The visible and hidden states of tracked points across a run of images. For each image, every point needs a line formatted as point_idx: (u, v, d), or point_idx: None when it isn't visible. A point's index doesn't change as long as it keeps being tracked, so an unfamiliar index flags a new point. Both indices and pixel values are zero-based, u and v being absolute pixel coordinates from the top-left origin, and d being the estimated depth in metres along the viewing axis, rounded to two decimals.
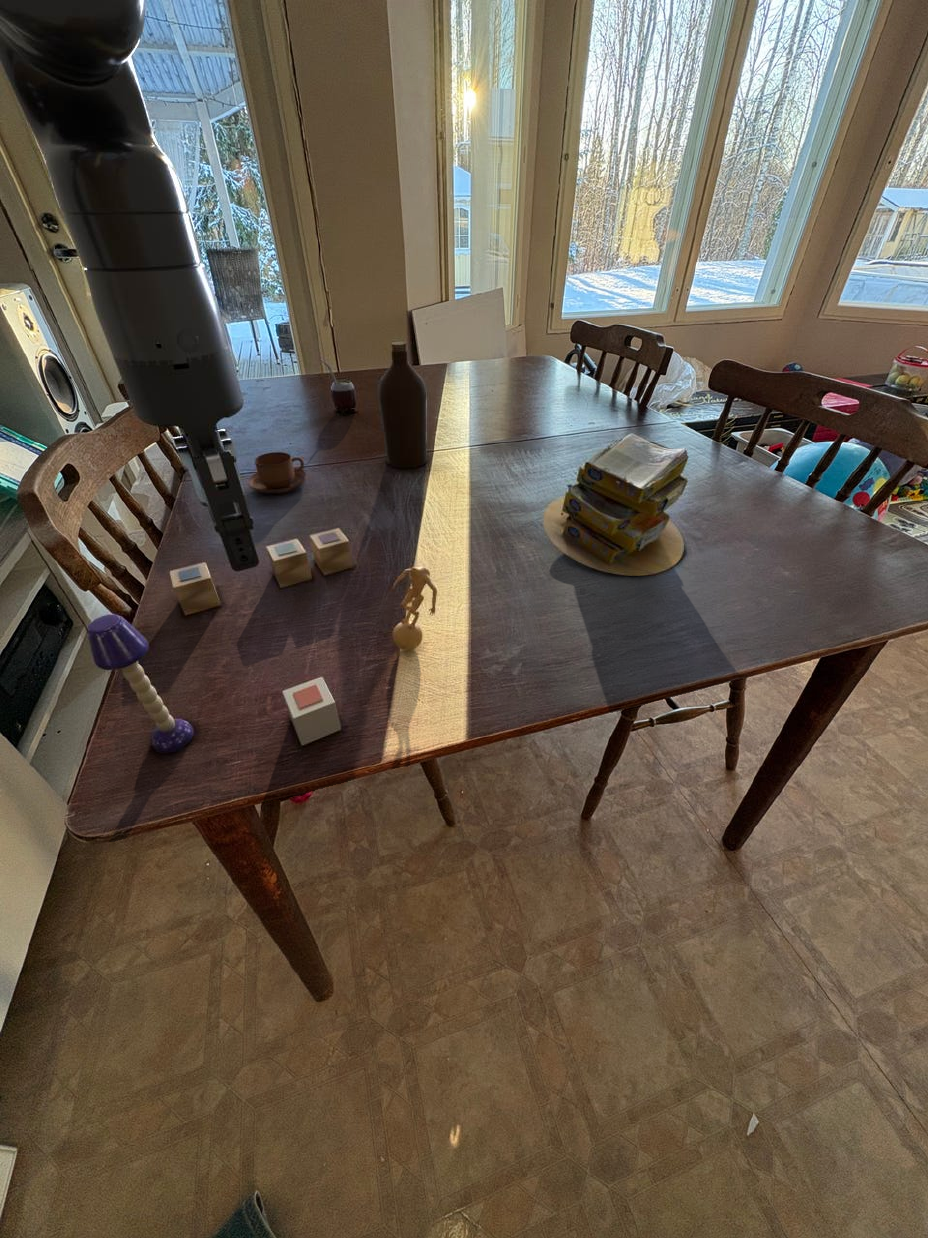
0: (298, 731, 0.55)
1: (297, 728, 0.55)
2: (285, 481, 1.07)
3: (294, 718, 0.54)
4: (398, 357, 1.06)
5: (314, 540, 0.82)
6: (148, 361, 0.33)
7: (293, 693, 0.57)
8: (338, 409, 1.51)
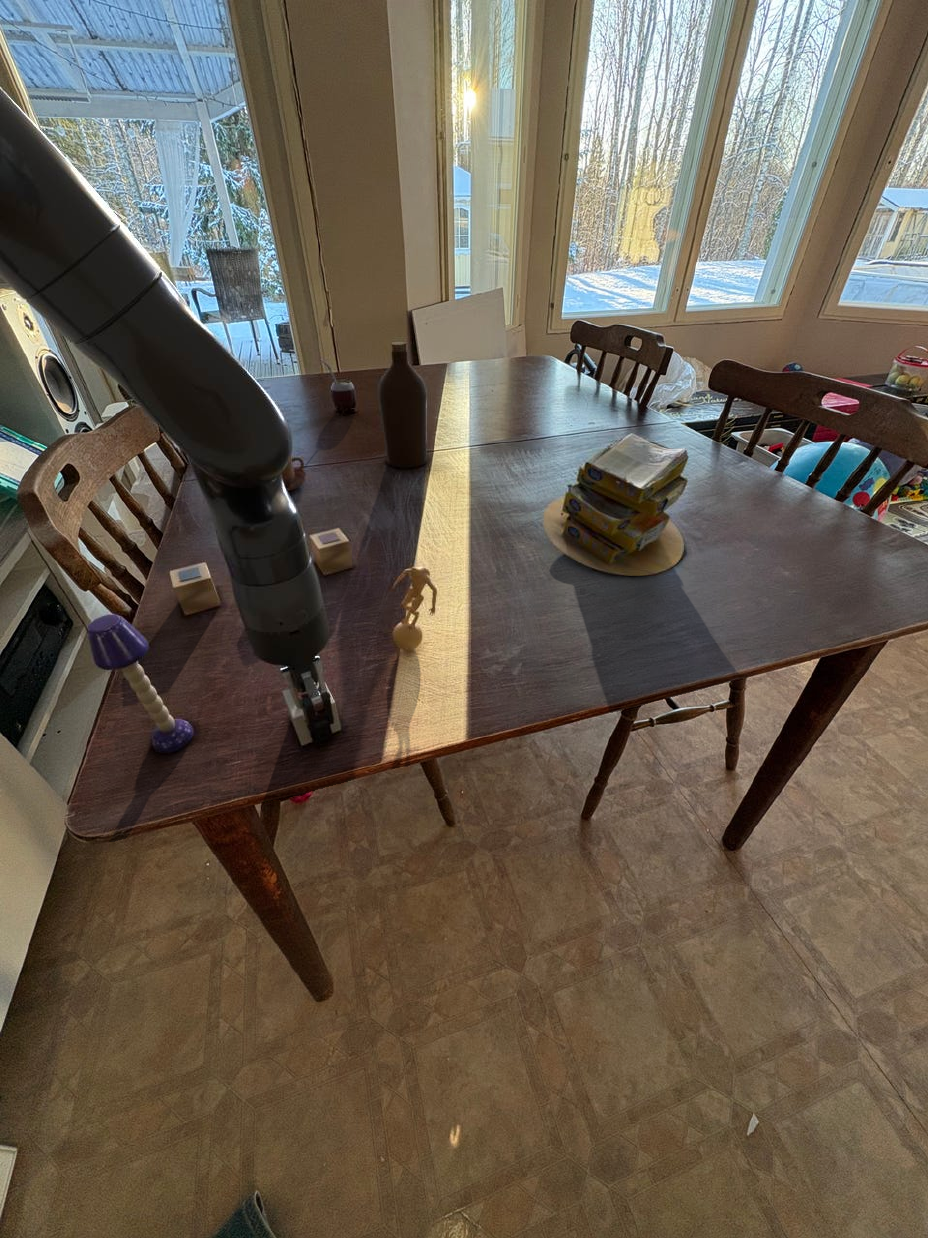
0: (298, 731, 0.55)
1: (297, 728, 0.55)
2: (285, 481, 1.07)
3: (294, 718, 0.54)
4: (398, 357, 1.06)
5: (314, 540, 0.82)
6: (272, 632, 0.45)
7: None
8: (338, 409, 1.51)
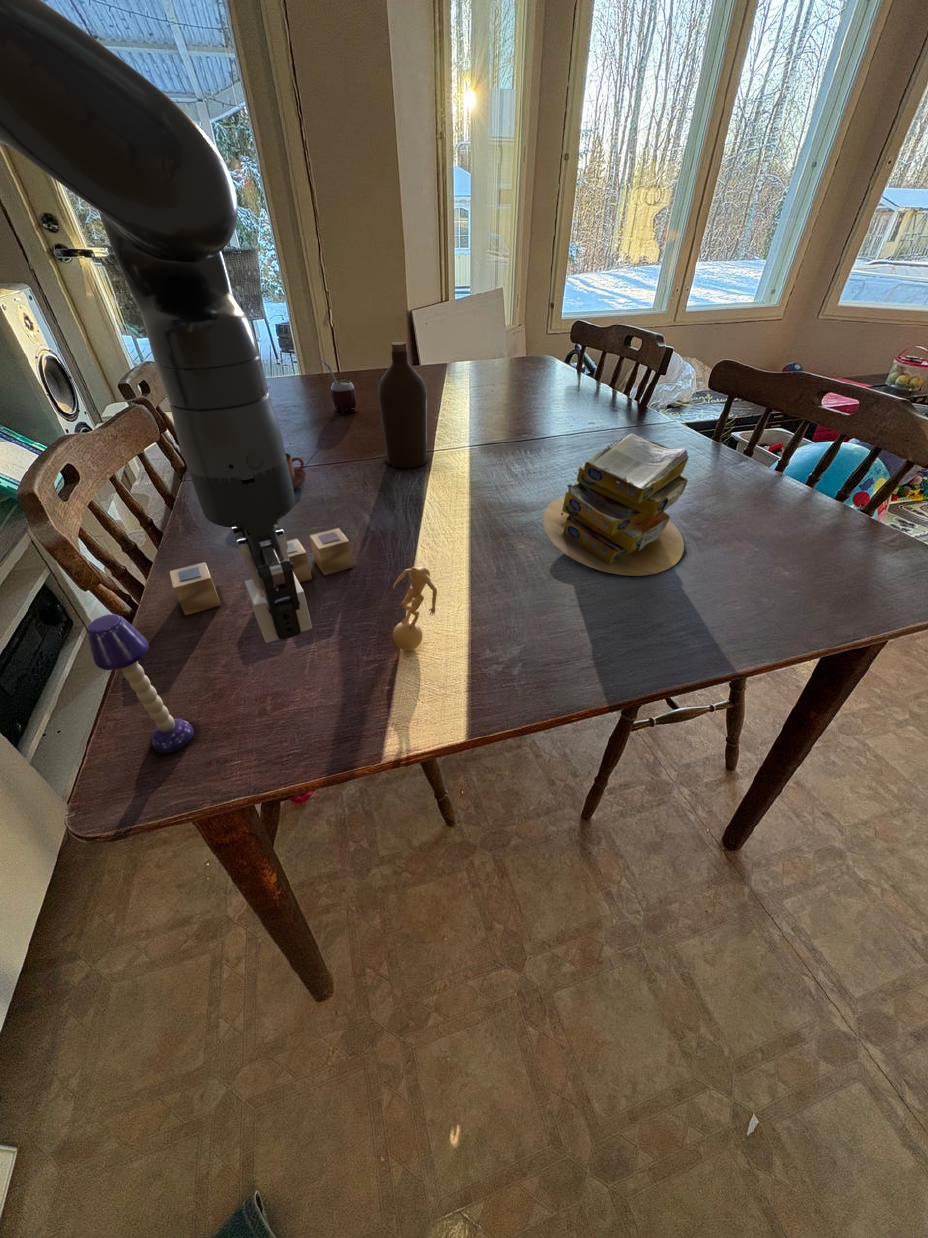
0: (261, 623, 0.48)
1: (259, 619, 0.48)
2: None
3: (255, 605, 0.47)
4: (398, 357, 1.06)
5: (314, 540, 0.82)
6: (221, 478, 0.38)
7: None
8: (338, 409, 1.51)
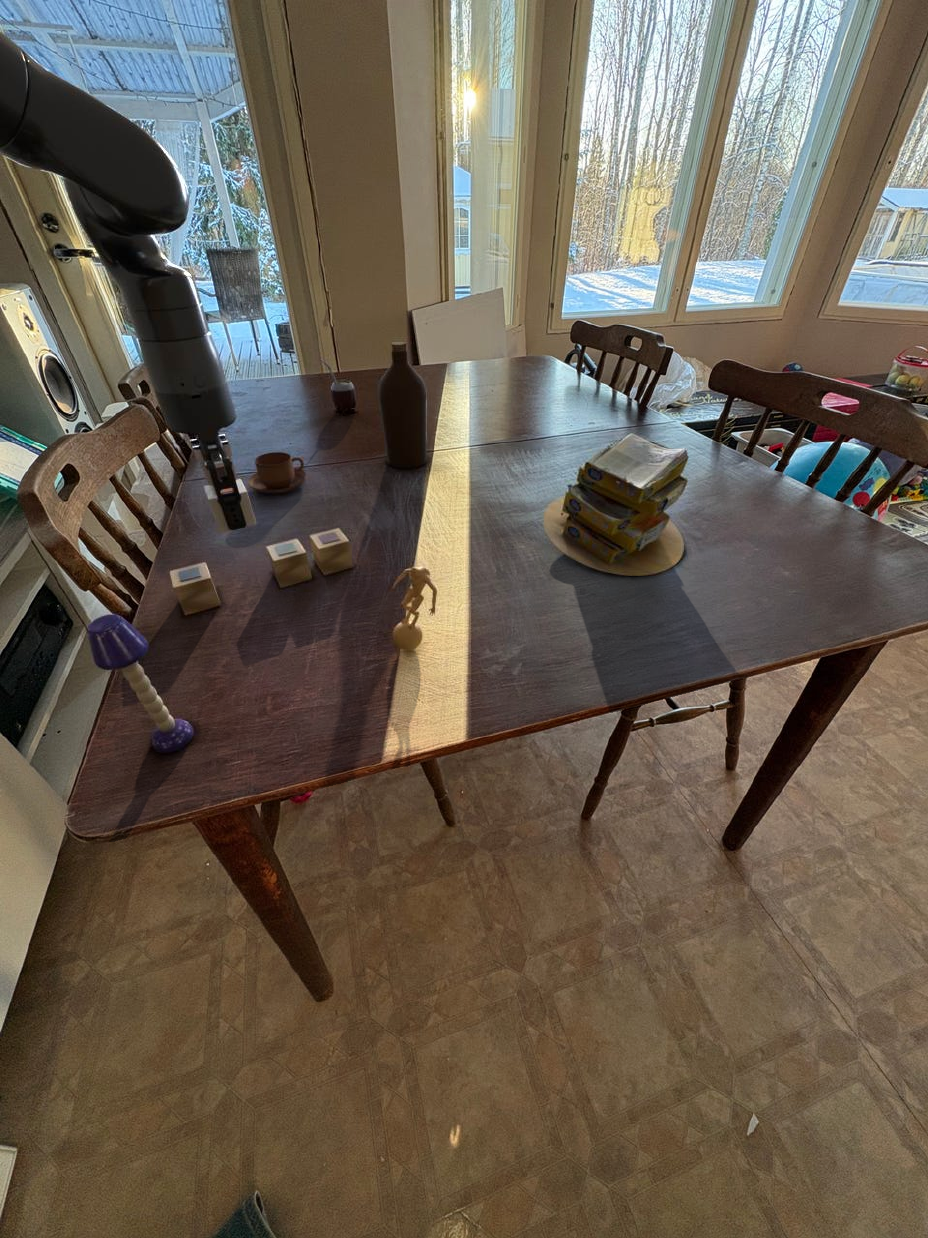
0: (214, 515, 0.64)
1: (213, 511, 0.63)
2: (285, 481, 1.07)
3: (209, 500, 0.62)
4: (398, 357, 1.06)
5: (314, 540, 0.82)
6: (176, 393, 0.54)
7: (213, 487, 0.65)
8: (338, 409, 1.51)
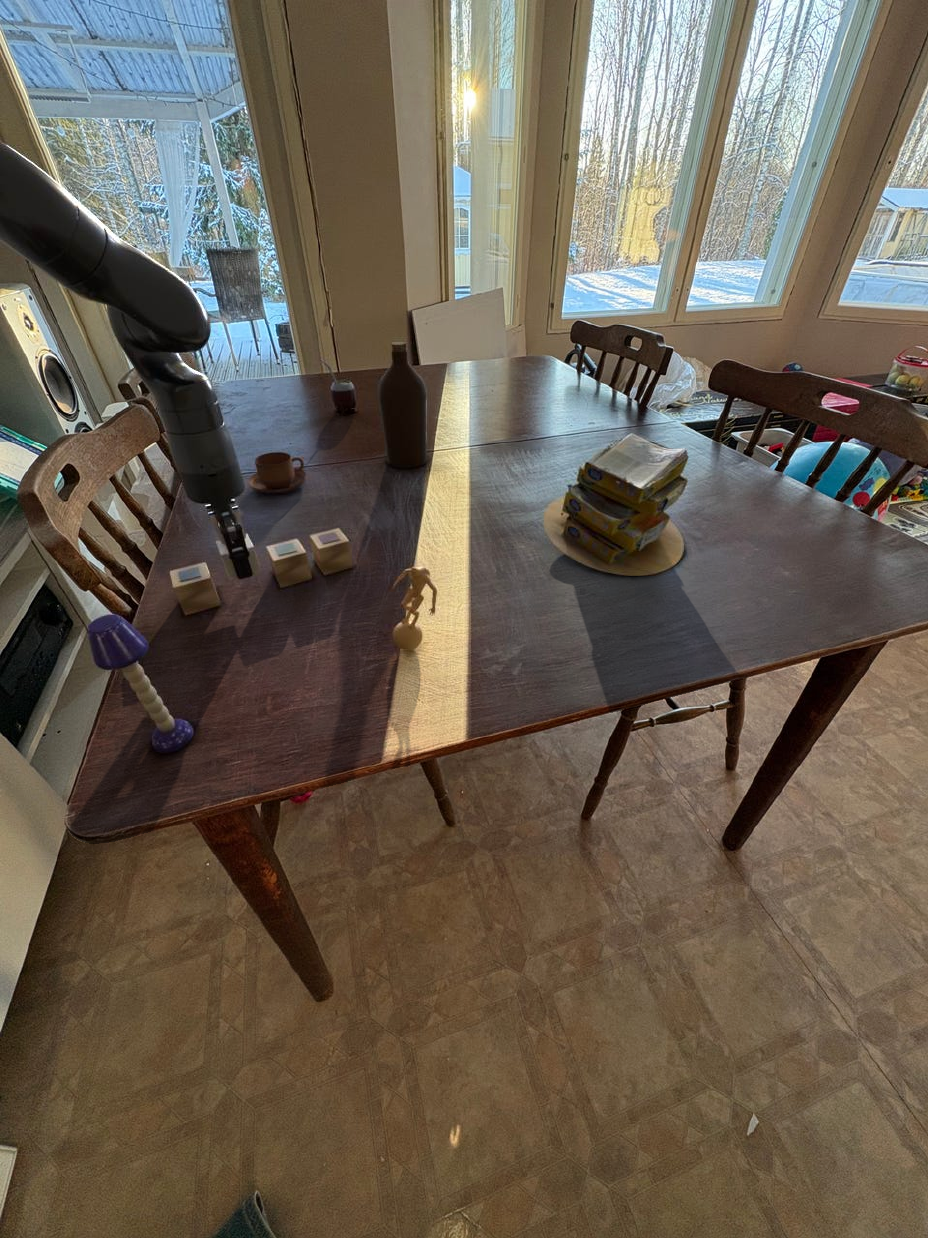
0: (226, 567, 0.74)
1: (225, 564, 0.74)
2: (285, 481, 1.07)
3: (222, 555, 0.73)
4: (398, 357, 1.06)
5: (314, 540, 0.82)
6: (196, 474, 0.65)
7: None
8: (338, 409, 1.51)
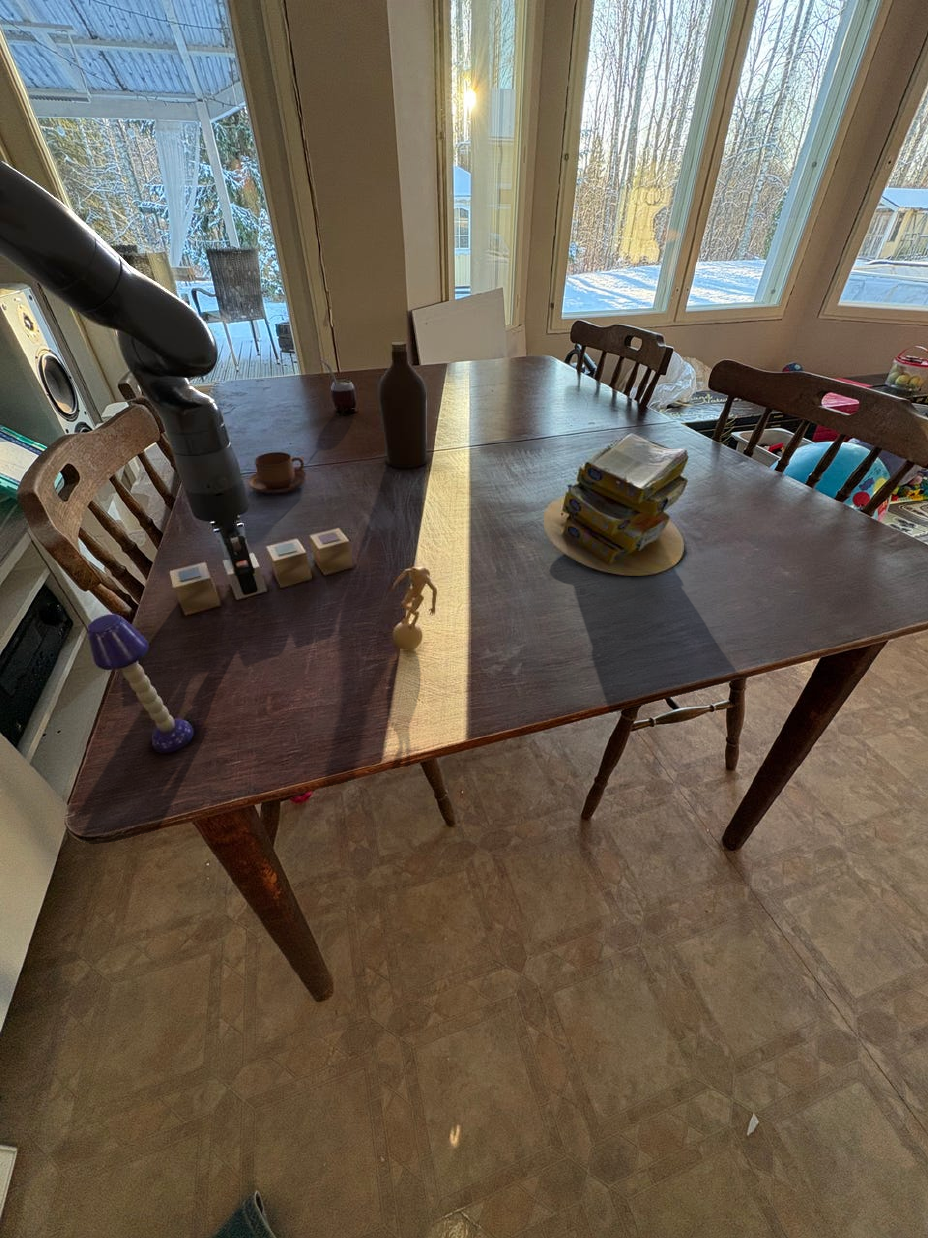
0: (232, 586, 0.77)
1: (231, 583, 0.76)
2: (285, 481, 1.07)
3: (228, 574, 0.75)
4: (398, 357, 1.06)
5: (314, 540, 0.82)
6: (202, 493, 0.66)
7: (230, 561, 0.78)
8: (338, 409, 1.51)
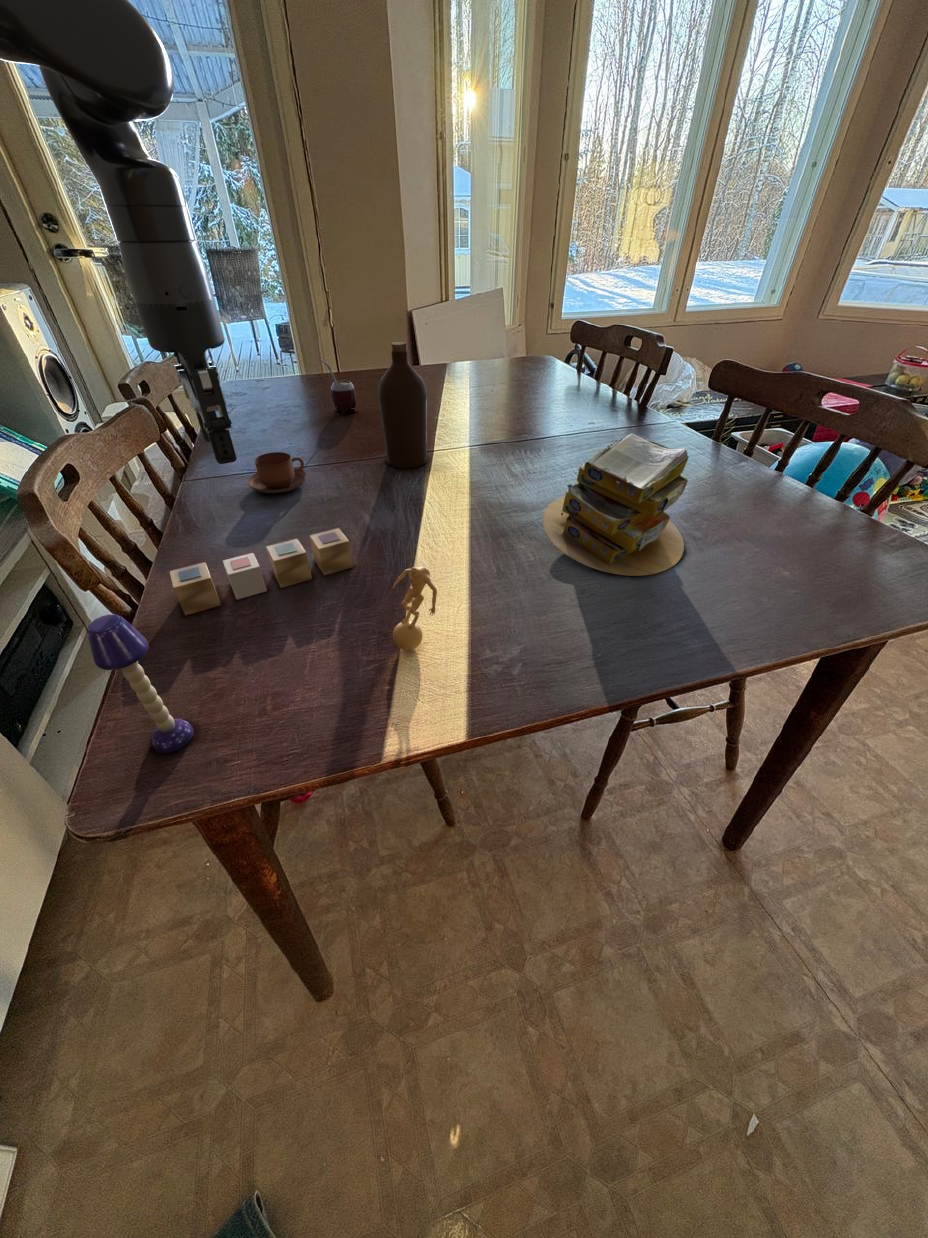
0: (232, 586, 0.77)
1: (231, 583, 0.76)
2: (285, 481, 1.07)
3: (228, 574, 0.75)
4: (398, 357, 1.06)
5: (314, 540, 0.82)
6: (159, 304, 0.50)
7: (230, 561, 0.78)
8: (338, 409, 1.51)
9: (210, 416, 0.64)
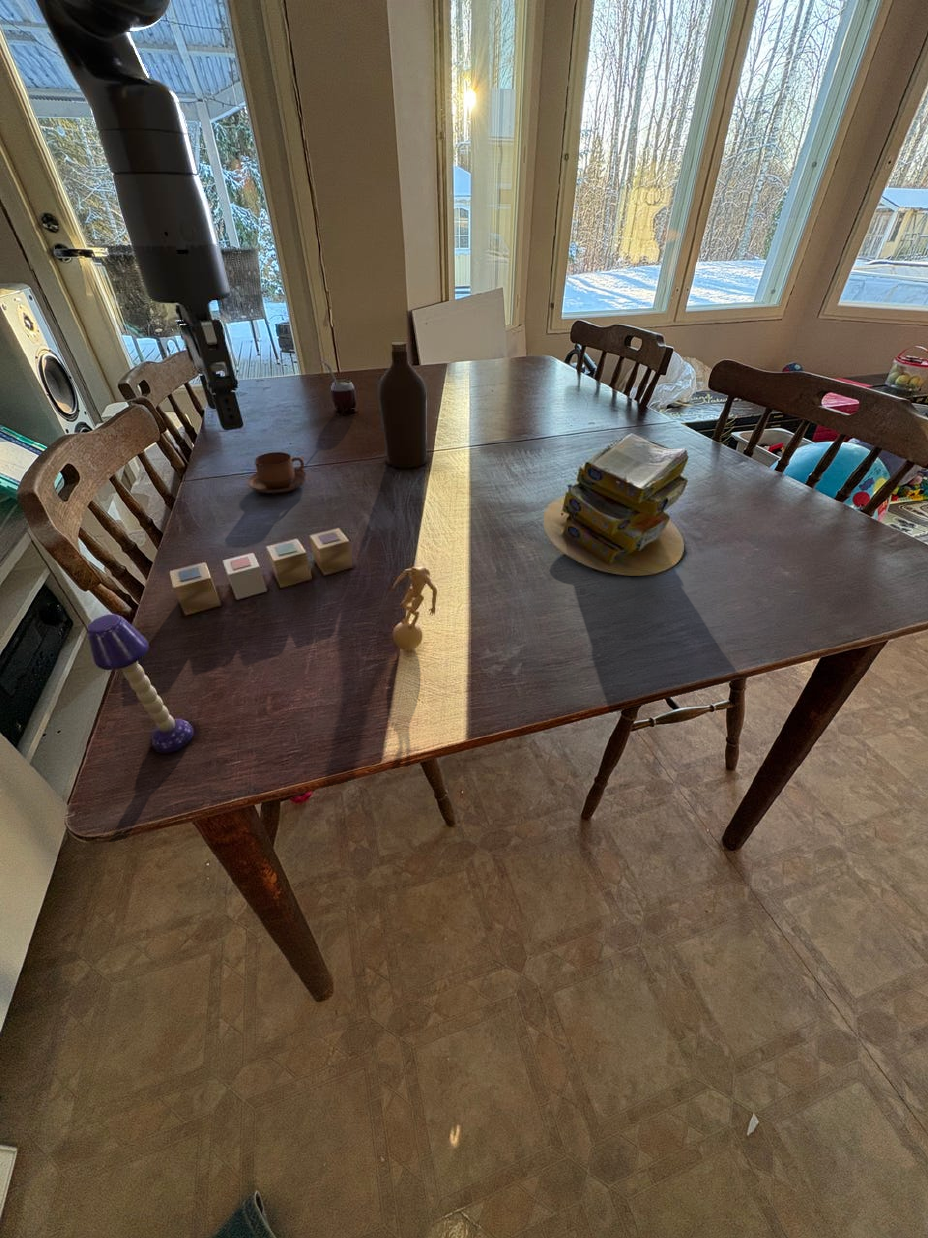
0: (232, 586, 0.77)
1: (231, 583, 0.76)
2: (285, 481, 1.07)
3: (228, 574, 0.75)
4: (398, 357, 1.06)
5: (314, 540, 0.82)
6: (158, 246, 0.45)
7: (230, 561, 0.78)
8: (338, 409, 1.51)
9: None
